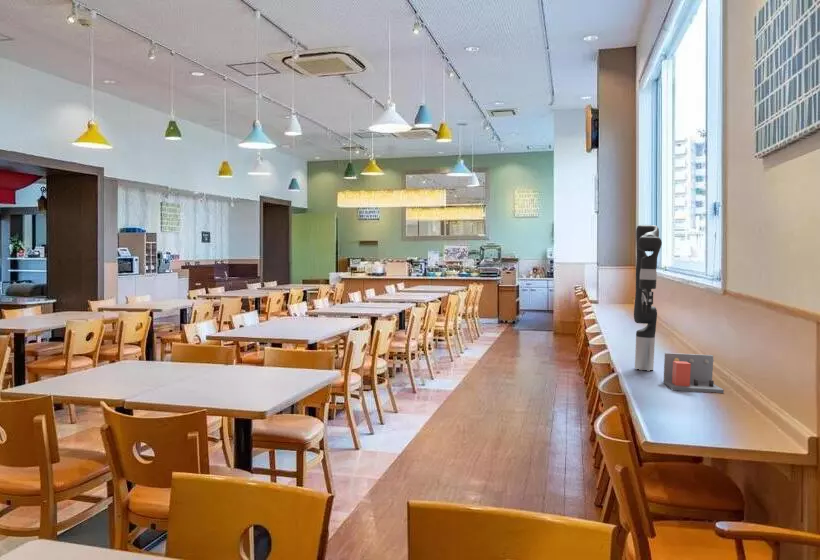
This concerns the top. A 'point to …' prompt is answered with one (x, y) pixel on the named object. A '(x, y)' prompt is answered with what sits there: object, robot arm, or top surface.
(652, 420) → the top surface
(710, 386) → the grey peg stand
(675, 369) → the tall coral upright block
